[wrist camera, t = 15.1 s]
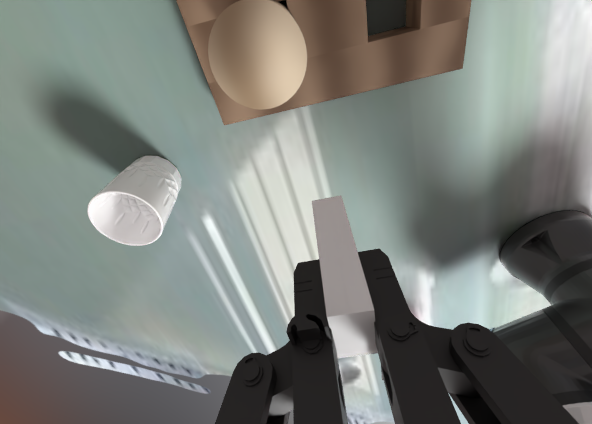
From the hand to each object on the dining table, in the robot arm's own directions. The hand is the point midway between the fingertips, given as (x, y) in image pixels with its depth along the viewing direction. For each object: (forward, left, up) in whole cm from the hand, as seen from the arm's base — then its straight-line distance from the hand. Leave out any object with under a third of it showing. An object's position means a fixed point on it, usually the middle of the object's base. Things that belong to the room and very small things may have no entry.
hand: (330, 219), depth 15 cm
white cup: (+22, +6, -24) cm, 33 cm away
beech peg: (+2, -7, -24) cm, 25 cm away
